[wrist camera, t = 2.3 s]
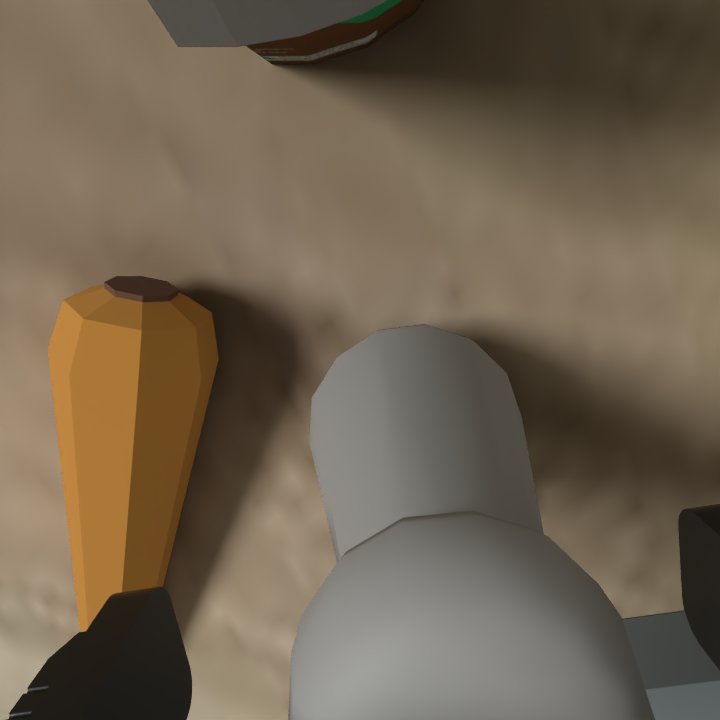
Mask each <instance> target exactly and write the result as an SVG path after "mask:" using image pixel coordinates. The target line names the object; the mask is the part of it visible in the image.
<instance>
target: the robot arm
mask: <svg viewBox="0 0 720 720" xmlns="http://www.w3.org/2000/svg"><path fill="white" fill-rule="evenodd" d="M679 545H680V563H681V581H682V598H683V605H684V610H685V614H686V617H687V620H688V623H689V625H690V628H691V630H692V632H693V634H694V636H695V638H696V640H697V641H698V643H699V644H700V646H701V647H702V648H703V650H704V651H705V652H706V654H707V655H708V656H709V657H710V659H711V660H712V661H713V663H714V664H715V665H716V666H717V668H718V669H719V670H720V504H716V505H710V506H703V507H696V508H690V509H684V510H683V511H682V512H681V513H680V516H679ZM191 697H192V677H191V670H190V666H189V662H188V659H187V655H186V652H185V648H184V645H183V641H182V638H181V634H180V631H179V627H178V624H177V620H176V617H175V613H174V610H173V606H172V603H171V599H170V596H169V594H168V592H167V591H166V590H165V589H164V588H163V587H154V588H147V589H140V590H134V591H127V592H120V593H115V594H112V595H111V596H110V597H109V598H108V599H107V601H106V602H105V604H104V605H103V607H102V608H101V610H100V611H99V613H98V614H97V616H96V617H95V619H94V620H93V622H92V623H91V624H90V626H89V627H88V629H87V630H86V631H84V632H79V633H78V634H77V635H75V636H74V637H73V638H72V639H71V640H70V641H68V642H67V643H66V644H65V645H64V646H63V647H61V648H60V649H59V650H58V651H57V652H56V653H55V654H53V655H52V656H51V657H50V658H49V659H48V660H47V662H46V663H45V664H44V666H43V667H42V668H41V670H40V671H39V673H38V674H37V675H36V677H35V678H34V680H33V681H32V682H31V684H30V685H29V687H28V692H27V694H23V695H22V696H21V698H20V699H19V700H18V702H17V703H16V705H15V706H14V707H13V709H12V710H11V712H10V713H9V714H10V716H9V719H7V720H186V719H187V716H188V713H189V709H190V705H191Z"/></svg>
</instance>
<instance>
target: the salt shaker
mask: <svg viewBox="0 0 720 720" xmlns="http://www.w3.org/2000/svg"><path fill="white" fill-rule="evenodd" d="M310 446H311V450H312V455H313V459H314V463H315V468H316V472H317V476H318V481H319V485H320V490H321V494H322V498H323V503H324V507H325V512H326V516H327V520H328V525H329V529H330V533H331V538H332V542H333V547H334V551H335V555H336V560H337V564H336V565H335V567H334V568H333V570H332V571H331V573H330V574H329V576H328V577H327V578H326V580H325V581H324V583H323V584H322V586H321V587H320V589H319V590H318V592H317V593H316V595H315V596H314V598H313V599H312V601H311V602H310V603H309V605H308V606H307V608H306V609H305V611H304V612H303V614H302V616H301V619H300V623H299V626H298V630H297V633H296V637H295V640H294V644H293V647H292V657H291V676H290V695H289V714H288V717H289V720H655V718H654V715H653V712H652V708H651V705H650V702H649V699H648V696H647V693H646V690H645V687H644V684H643V681H642V678H641V675H640V672H639V669H638V666H637V663H636V660H635V657H634V654H633V651H632V648H631V645H630V642H629V639H628V636H627V633H626V630H625V627H624V624H623V621H622V618H621V616H620V615H619V613H618V612H617V610H616V609H615V607H614V606H613V605H612V603H611V602H610V600H609V599H608V597H607V596H606V594H605V593H604V591H603V590H602V588H601V587H600V586H599V584H598V583H597V582H596V581H595V580H594V579H593V578H591V577H590V576H589V575H588V574H587V573H586V572H585V571H584V570H583V569H582V568H581V567H580V566H579V565H578V564H577V563H576V562H575V561H573V560H572V559H571V558H570V557H569V556H568V555H567V554H566V553H565V552H564V551H563V550H562V549H561V548H560V547H559V546H558V545H557V544H556V543H554V542H553V541H552V540H551V539H550V538H549V537H548V536H546V535H545V534H544V533H543V528H542V522H541V517H540V512H539V506H538V501H537V496H536V490H535V485H534V480H533V474H532V469H531V464H530V459H529V453H528V448H527V443H526V437H525V432H524V427H523V421H522V416H521V413H520V411H519V408H518V405H517V402H516V399H515V396H514V393H513V390H512V387H511V384H510V381H509V378H508V375H507V373H506V372H505V371H504V370H503V369H502V368H501V367H500V366H499V365H498V364H497V363H496V362H495V361H494V360H493V359H492V358H491V357H490V356H489V355H488V354H487V353H486V352H484V351H483V350H482V349H481V348H480V347H479V346H478V345H477V344H476V343H475V342H474V341H473V340H471V339H469V338H466V337H463V336H460V335H457V334H454V333H451V332H447V331H444V330H441V329H438V328H435V327H432V326H429V325H426V324H422V325H414V326H406V327H399V328H391V329H383V330H377V331H376V332H374V333H373V334H371V335H370V336H368V337H367V338H365V339H364V340H362V341H361V342H359V343H358V344H356V345H355V346H353V347H352V348H350V349H349V350H347V351H345V352H344V353H342V354H341V355H340V356H338V357H337V358H336V360H335V361H334V363H333V365H332V366H331V368H330V369H329V371H328V373H327V374H326V376H325V378H324V379H323V381H322V382H321V384H320V386H319V387H318V389H317V391H316V392H315V394H314V395H313V397H312V405H311V426H310Z"/></svg>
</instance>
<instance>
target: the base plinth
mask: <svg viewBox="0 0 720 720" xmlns="http://www.w3.org/2000/svg"><path fill="white" fill-rule="evenodd" d="M622 621H623V624H624V627H625V630H626V633H627V636H628V639H629V642H630V645H631V648H632V651H633V654H634V657H635V660H636V663H637V666H638V669H639V672H640V675H641V678H642V681H643V684H644V687H645V690H646V693H647V696H648V699H649V702H650V705H651V708H652V712H653V715H654V718H655V720H720V670H719V669H718V668H717V666H716V665H715V664H714V663H713V661H712V660H711V659H710V657H709V656H708V655H707V654H706V652H705V651H704V650H703V648H702V647H701V646H700V644H699V643H698V641H697V640H696V638H695V636H694V634H693V632H692V630H691V628H690V625H689V623H688V620H687V617H686V614H685V611H683V612H675V613H668V614H660V615H653V616H645V617H638V618H630V619H623V620H622Z"/></svg>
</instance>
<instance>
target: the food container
mask: <svg viewBox="0 0 720 720" xmlns="http://www.w3.org/2000/svg"><path fill="white" fill-rule="evenodd" d="M148 2H149V3H150V5H151V6H152V8H153V9H154V11H155V12H156V14H157V16H158V17H159V19H160V20H161V22H162V23H163V25H164V26H165V28H166V29H167V31H168V32H169V34H170V35H171V37H172V38H173V40H174V41H175V43H176V45H177V46H178V47H240V46H245V45H246V46H247V47H248V48H250V49H251V50H253V51H254V52H255V53H257V54H258V55H260V56H261V57H263V58H264V59H265V60H267V61H268V62H270V63H271V64H316V63H319V62H322V61H325V60H329V59H332V58H335V57H338V56H341V55H345V54H348V53H351V52H354V51H357V50H360V49H364V48H367V47H368V46H370V45H371V44H373V43H374V42H375V41H377V40H378V39H379V38H381V37H382V36H384V35H385V34H386V33H388V32H389V31H390V30H392V29H393V28H394V27H396V26H397V25H399V24H400V23H401V22H403V21H404V20H405V19H407V18H408V17H410V16H411V15H412V14H414V13H415V11H416V10H417V9H418V7H419V6H420V4H421V3H422V2H423V0H148Z"/></svg>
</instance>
